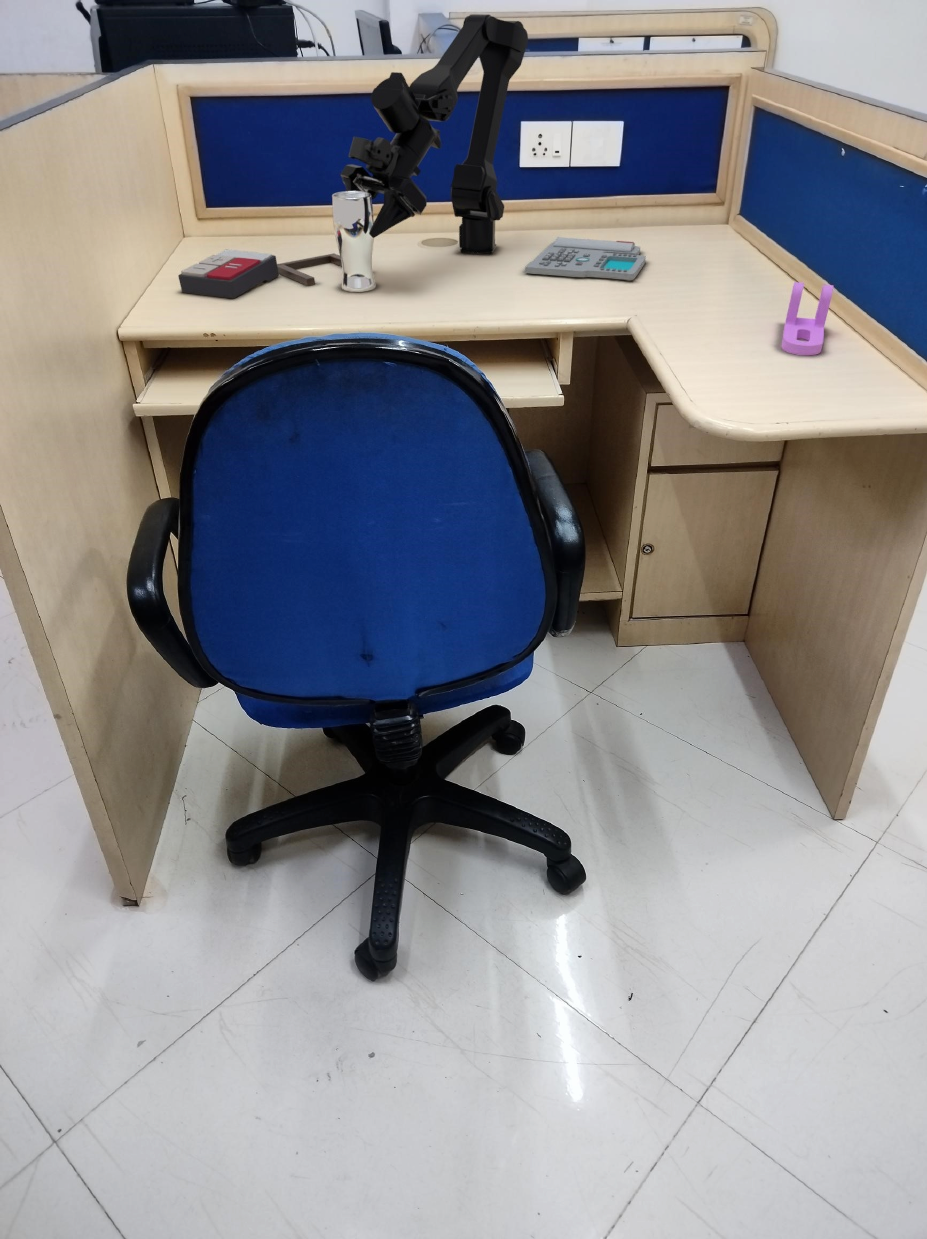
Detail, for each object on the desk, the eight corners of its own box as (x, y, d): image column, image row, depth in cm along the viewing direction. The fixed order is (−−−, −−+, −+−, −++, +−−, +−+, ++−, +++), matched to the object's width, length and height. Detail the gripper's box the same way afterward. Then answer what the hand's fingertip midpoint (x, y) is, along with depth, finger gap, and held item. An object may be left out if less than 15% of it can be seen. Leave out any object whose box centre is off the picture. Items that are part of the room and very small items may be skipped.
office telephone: (555, 232, 172) (653, 239, 167) (554, 245, 174) (652, 253, 169) (525, 258, 155) (634, 267, 149) (524, 273, 156) (632, 283, 151)
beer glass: (381, 282, 153) (375, 190, 144) (374, 293, 147) (368, 199, 138) (343, 281, 153) (335, 190, 144) (335, 292, 148) (326, 198, 139)
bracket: (784, 325, 132) (794, 279, 128) (821, 329, 131) (833, 282, 127) (780, 352, 123) (791, 303, 118) (820, 357, 121) (833, 307, 117)
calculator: (175, 270, 146) (224, 245, 156) (181, 296, 148) (229, 269, 159) (229, 276, 142) (276, 250, 153) (234, 302, 145) (279, 275, 156)
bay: (369, 272, 158) (369, 266, 157) (307, 285, 151) (306, 278, 150) (334, 259, 165) (333, 253, 165) (274, 271, 159) (273, 264, 158)
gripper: (345, 110, 143) (295, 190, 144) (409, 121, 131) (355, 207, 133) (386, 158, 152) (339, 233, 153) (449, 172, 140) (398, 253, 141)
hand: (356, 231), depth 145 cm, fingers open, 9 cm apart
